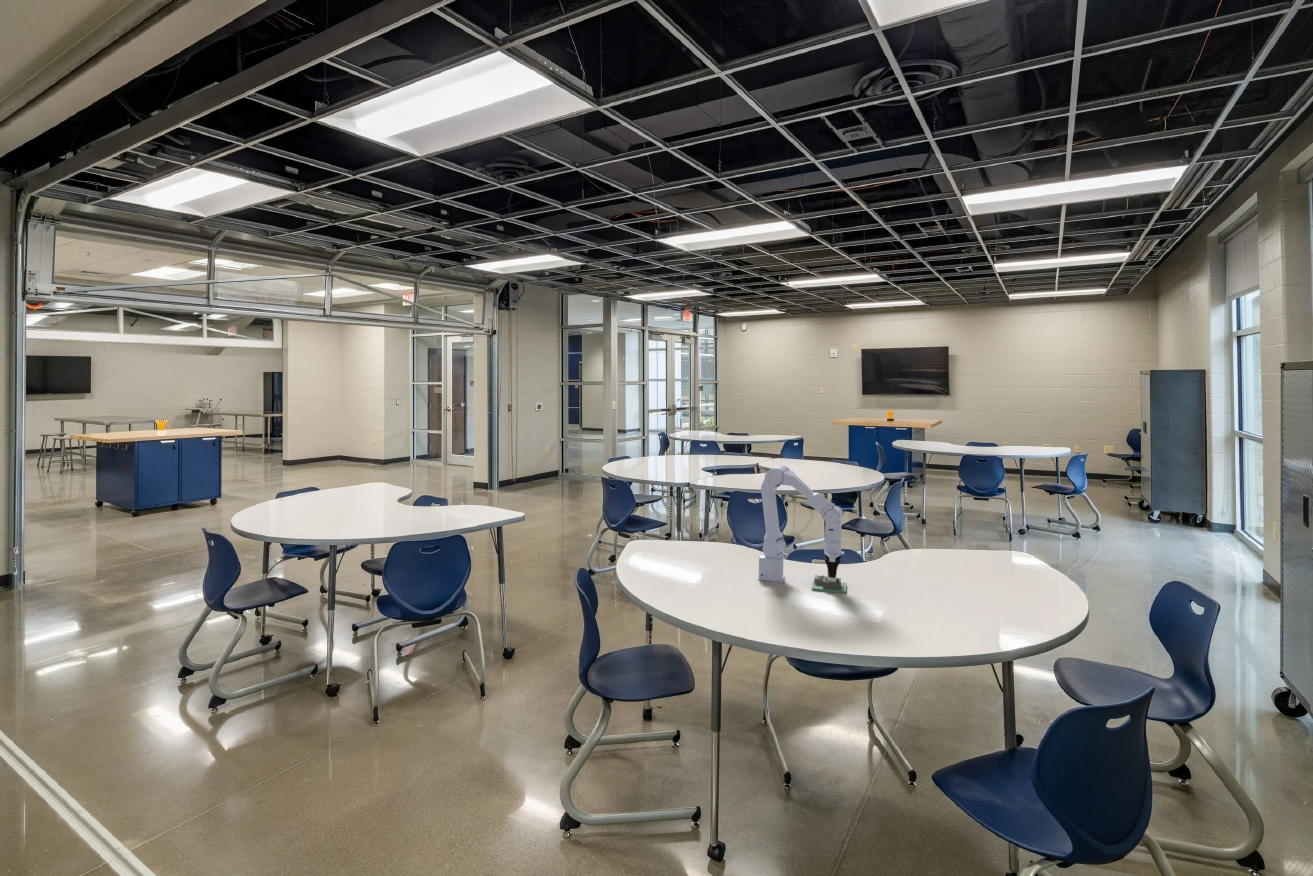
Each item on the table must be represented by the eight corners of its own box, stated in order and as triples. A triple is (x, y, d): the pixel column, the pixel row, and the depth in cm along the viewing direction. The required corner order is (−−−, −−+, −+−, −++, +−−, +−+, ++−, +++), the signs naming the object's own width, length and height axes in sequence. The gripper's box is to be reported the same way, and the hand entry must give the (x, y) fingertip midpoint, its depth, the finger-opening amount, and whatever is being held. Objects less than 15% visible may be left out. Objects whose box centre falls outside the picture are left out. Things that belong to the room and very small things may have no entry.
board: (811, 590, 226) (812, 580, 226) (813, 581, 236) (813, 572, 235) (845, 593, 223) (846, 583, 222) (846, 585, 232) (846, 575, 232)
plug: (827, 582, 227) (827, 564, 226) (827, 579, 230) (828, 561, 229) (836, 583, 226) (836, 564, 225) (836, 580, 229) (837, 562, 228)
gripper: (844, 545, 218) (843, 582, 219) (844, 535, 232) (843, 571, 233) (823, 544, 220) (822, 581, 222) (825, 534, 234) (824, 569, 235)
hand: (832, 575), depth 228 cm, fingers closed on plug, 3 cm apart
